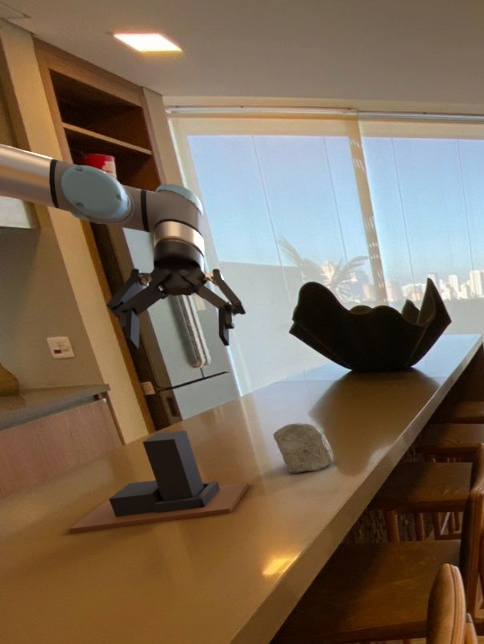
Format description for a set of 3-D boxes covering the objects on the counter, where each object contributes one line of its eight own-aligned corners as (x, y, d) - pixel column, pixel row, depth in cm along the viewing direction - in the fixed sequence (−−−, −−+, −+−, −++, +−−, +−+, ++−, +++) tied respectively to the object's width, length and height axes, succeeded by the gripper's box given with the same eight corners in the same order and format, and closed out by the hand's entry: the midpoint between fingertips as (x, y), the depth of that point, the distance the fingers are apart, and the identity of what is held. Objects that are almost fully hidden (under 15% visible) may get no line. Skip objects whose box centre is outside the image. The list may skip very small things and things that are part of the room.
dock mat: (71, 535, 83) (60, 509, 82) (111, 503, 95) (102, 481, 94) (231, 514, 90) (223, 490, 89) (249, 487, 102) (243, 466, 101)
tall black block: (165, 508, 90) (142, 441, 86) (177, 496, 95) (156, 433, 91) (195, 505, 91) (174, 438, 87) (206, 493, 96) (186, 430, 92)
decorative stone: (322, 476, 107) (338, 428, 110) (257, 461, 104) (275, 411, 106) (330, 490, 119) (344, 446, 121) (272, 476, 115) (288, 431, 118)
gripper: (261, 270, 116) (266, 352, 108) (108, 270, 107) (103, 360, 100) (248, 239, 109) (253, 325, 102) (85, 237, 100) (77, 330, 93)
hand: (179, 342), depth 101 cm, fingers open, 13 cm apart
